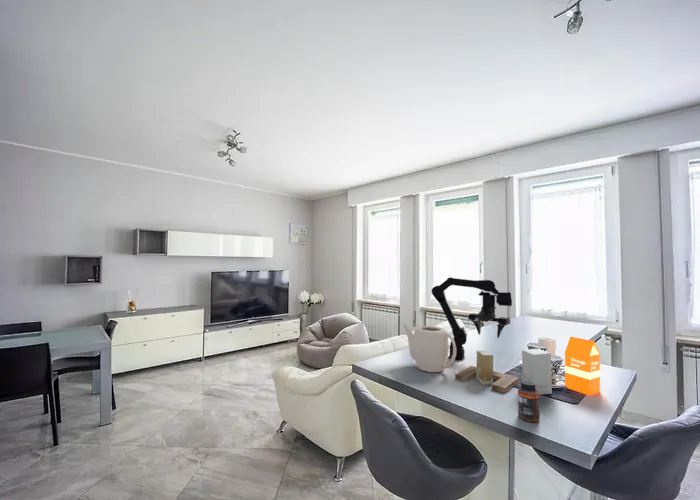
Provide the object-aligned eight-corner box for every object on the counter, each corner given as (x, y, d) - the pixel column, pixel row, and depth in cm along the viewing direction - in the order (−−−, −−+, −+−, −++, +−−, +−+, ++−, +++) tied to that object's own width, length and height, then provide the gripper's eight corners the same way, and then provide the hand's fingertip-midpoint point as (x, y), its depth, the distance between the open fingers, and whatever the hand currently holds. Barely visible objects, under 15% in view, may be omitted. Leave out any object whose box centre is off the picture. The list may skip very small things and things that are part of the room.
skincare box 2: (539, 387, 124) (539, 348, 125) (553, 394, 118) (553, 353, 119) (521, 388, 123) (521, 349, 124) (533, 395, 117) (533, 353, 117)
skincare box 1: (475, 379, 132) (475, 350, 133) (485, 379, 133) (485, 350, 133) (483, 385, 126) (483, 354, 126) (493, 385, 126) (493, 354, 127)
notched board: (455, 378, 132) (455, 374, 132) (471, 370, 144) (471, 365, 144) (505, 393, 118) (505, 388, 118) (518, 382, 130) (518, 377, 130)
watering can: (410, 358, 160) (410, 321, 160) (462, 370, 143) (462, 329, 144) (394, 366, 147) (394, 325, 148) (449, 380, 131) (449, 334, 131)
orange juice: (589, 395, 118) (589, 342, 119) (564, 387, 126) (564, 337, 126) (600, 392, 121) (599, 340, 122) (575, 384, 129) (575, 335, 130)
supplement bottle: (537, 415, 101) (536, 380, 102) (541, 424, 95) (541, 387, 96) (516, 412, 103) (516, 377, 103) (519, 421, 97) (519, 384, 98)
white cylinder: (550, 369, 146) (550, 337, 147) (558, 375, 140) (558, 341, 140) (535, 369, 147) (535, 337, 148) (543, 374, 140) (542, 340, 141)
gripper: (463, 304, 158) (463, 335, 157) (502, 308, 145) (502, 342, 144) (472, 302, 166) (472, 332, 165) (510, 306, 153) (510, 338, 152)
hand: (488, 336), depth 156 cm, fingers open, 9 cm apart
